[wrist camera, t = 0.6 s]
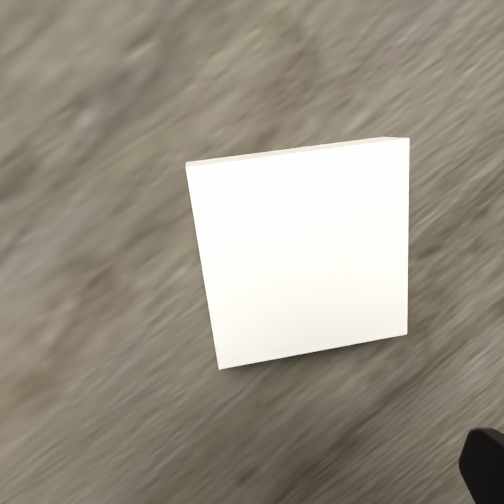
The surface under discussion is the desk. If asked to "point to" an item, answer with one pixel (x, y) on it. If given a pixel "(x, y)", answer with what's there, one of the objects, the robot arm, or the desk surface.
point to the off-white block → (303, 247)
